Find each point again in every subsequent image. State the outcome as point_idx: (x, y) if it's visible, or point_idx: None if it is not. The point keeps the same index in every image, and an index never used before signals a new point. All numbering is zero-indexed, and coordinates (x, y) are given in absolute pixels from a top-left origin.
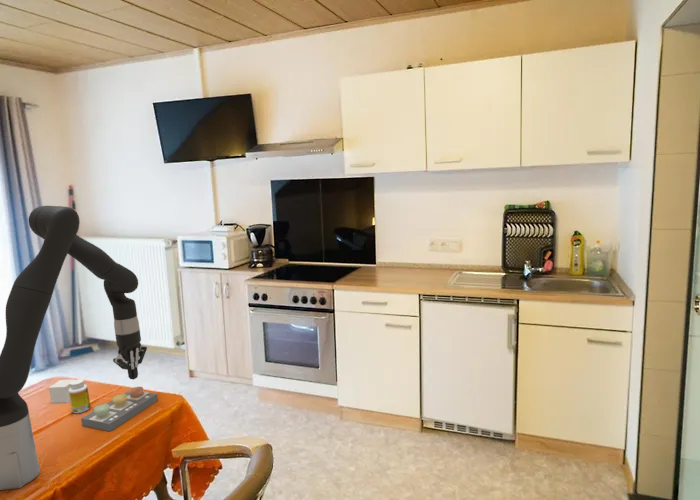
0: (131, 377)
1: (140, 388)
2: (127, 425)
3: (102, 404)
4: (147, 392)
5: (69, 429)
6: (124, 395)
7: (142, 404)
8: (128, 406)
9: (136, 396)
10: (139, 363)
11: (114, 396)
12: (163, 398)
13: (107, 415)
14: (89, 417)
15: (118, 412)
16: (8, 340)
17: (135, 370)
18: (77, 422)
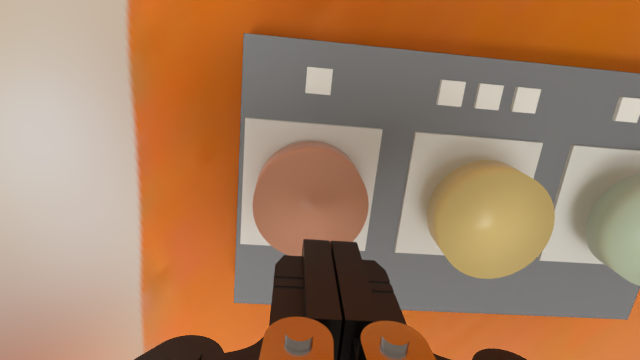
0: (384, 272)
1: (283, 184)
2: (601, 13)
3: (621, 266)
4: (248, 135)
5: (624, 325)
6: (469, 204)
7: (413, 50)
8: (474, 129)
9: (351, 162)
10: (216, 350)
11: (490, 274)
12: (208, 10)
13: (610, 182)
14: (617, 282)
15: (561, 139)
16: None
17: (330, 297)
18: (558, 340)
